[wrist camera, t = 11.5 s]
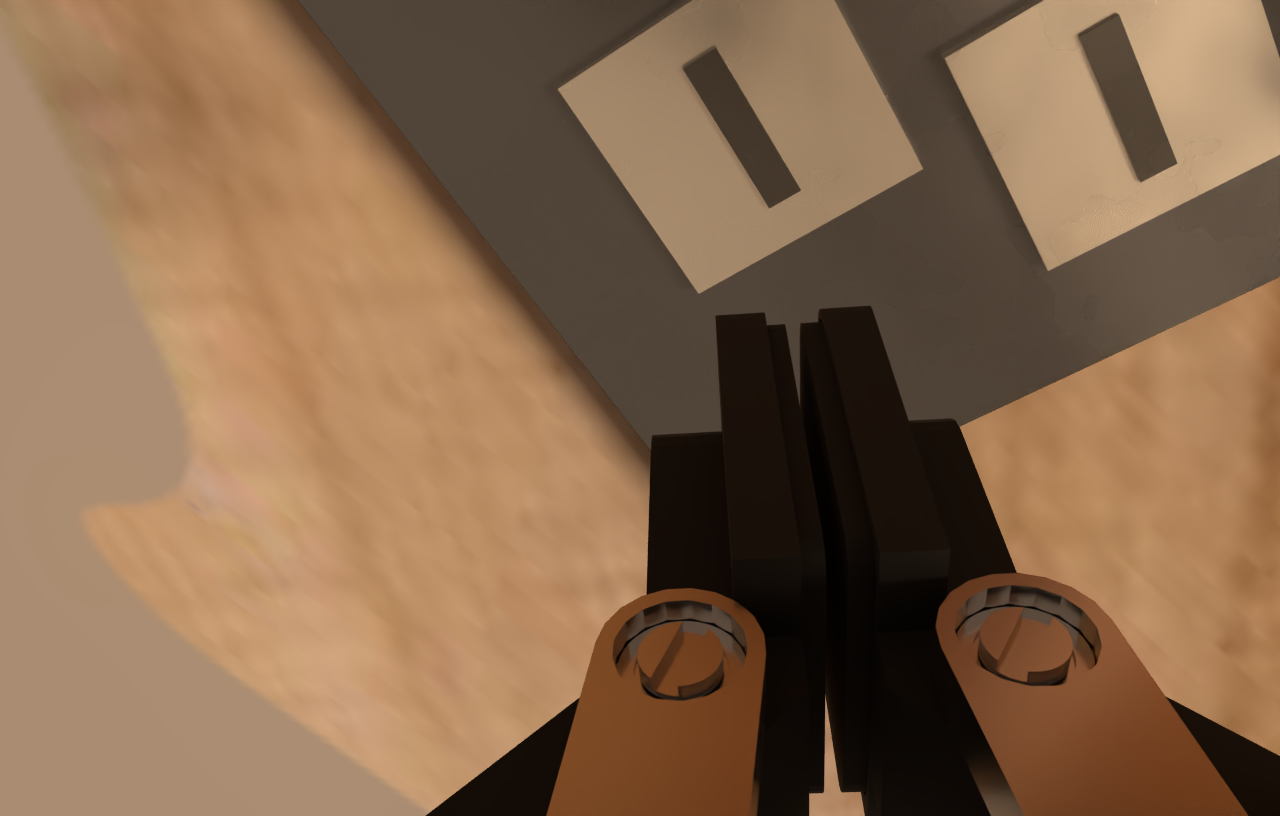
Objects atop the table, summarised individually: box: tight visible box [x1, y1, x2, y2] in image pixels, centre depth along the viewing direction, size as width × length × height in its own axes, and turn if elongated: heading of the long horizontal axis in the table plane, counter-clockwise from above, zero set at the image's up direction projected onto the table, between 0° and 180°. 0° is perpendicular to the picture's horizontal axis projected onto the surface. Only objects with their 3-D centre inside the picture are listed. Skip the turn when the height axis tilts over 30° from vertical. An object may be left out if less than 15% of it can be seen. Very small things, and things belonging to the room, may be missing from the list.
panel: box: [298, 0, 1280, 450], centre depth 18 cm, size 16×20×6 cm
